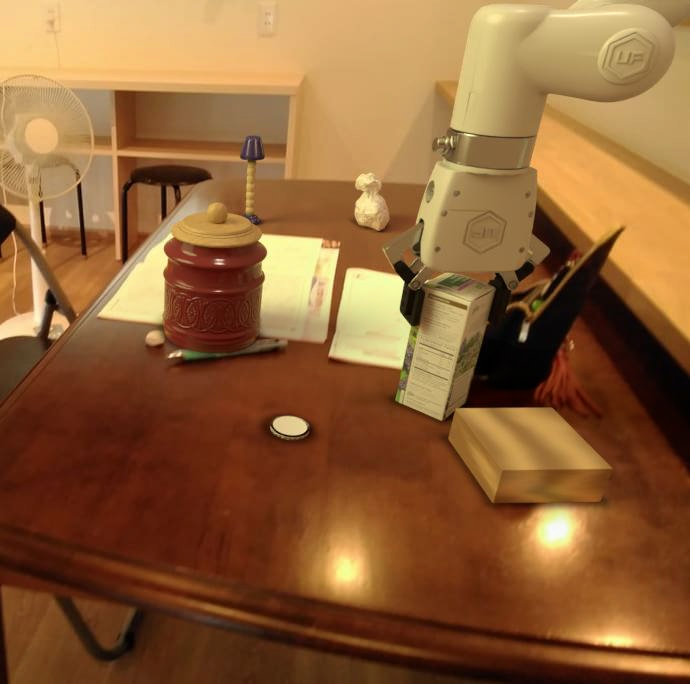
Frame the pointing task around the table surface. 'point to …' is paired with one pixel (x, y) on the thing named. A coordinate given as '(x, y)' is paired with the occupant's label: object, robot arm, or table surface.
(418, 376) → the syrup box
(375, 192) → the white tied sack
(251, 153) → the toy lamp
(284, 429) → the bottle cap
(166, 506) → the table surface
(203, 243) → the kitchen canister
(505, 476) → the maple block
